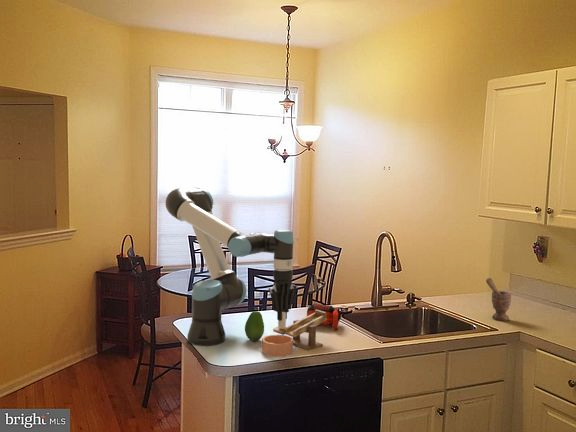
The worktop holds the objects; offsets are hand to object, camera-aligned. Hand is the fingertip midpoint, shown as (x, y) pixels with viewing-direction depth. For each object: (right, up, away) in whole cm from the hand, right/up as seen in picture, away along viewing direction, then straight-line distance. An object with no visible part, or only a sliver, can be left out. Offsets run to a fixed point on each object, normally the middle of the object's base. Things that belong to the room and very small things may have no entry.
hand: (281, 327), depth 211 cm
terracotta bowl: (-2, -7, -8) cm, 11 cm away
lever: (+8, -1, +3) cm, 8 cm away
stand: (+9, -7, +1) cm, 11 cm away
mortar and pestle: (+103, -6, +45) cm, 113 cm away
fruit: (-11, -6, +4) cm, 13 cm away
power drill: (+18, -5, +27) cm, 33 cm away
